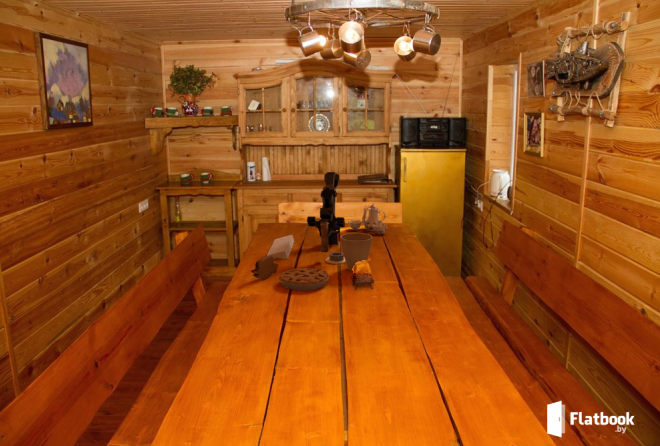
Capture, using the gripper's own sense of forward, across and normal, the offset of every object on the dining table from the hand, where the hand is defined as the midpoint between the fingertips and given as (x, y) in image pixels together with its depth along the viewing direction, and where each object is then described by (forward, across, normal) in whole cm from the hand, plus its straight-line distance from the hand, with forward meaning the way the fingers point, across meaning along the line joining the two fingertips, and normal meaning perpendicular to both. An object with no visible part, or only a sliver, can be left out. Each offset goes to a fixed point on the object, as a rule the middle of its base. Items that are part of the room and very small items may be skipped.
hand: (324, 236), depth 276 cm
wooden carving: (+30, -22, -12) cm, 39 cm away
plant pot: (+17, +17, +2) cm, 24 cm away
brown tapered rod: (+5, 0, +7) cm, 8 cm away
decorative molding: (-3, -27, +23) cm, 35 cm away
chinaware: (-39, +17, +59) cm, 72 cm away
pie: (+34, -3, -15) cm, 37 cm away
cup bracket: (+8, +6, +11) cm, 14 cm away
